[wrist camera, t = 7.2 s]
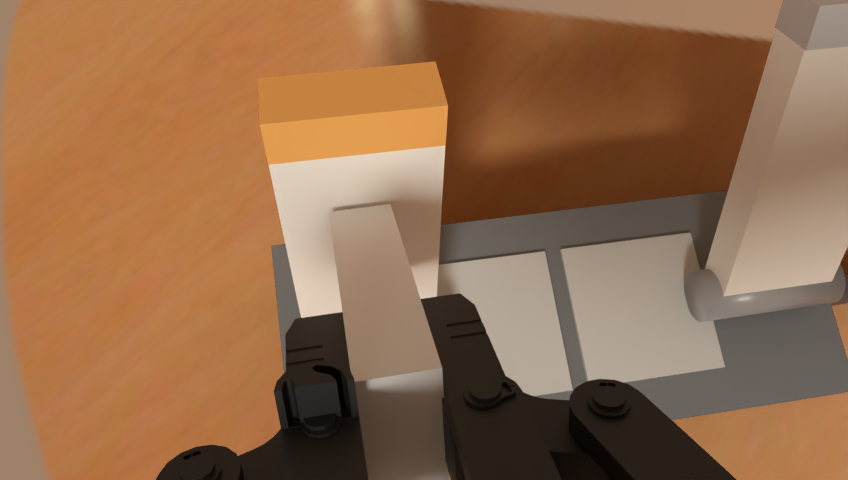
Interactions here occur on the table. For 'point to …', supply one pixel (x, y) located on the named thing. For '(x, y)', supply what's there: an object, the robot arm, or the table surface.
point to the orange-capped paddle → (355, 165)
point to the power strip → (622, 308)
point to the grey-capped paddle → (786, 178)
